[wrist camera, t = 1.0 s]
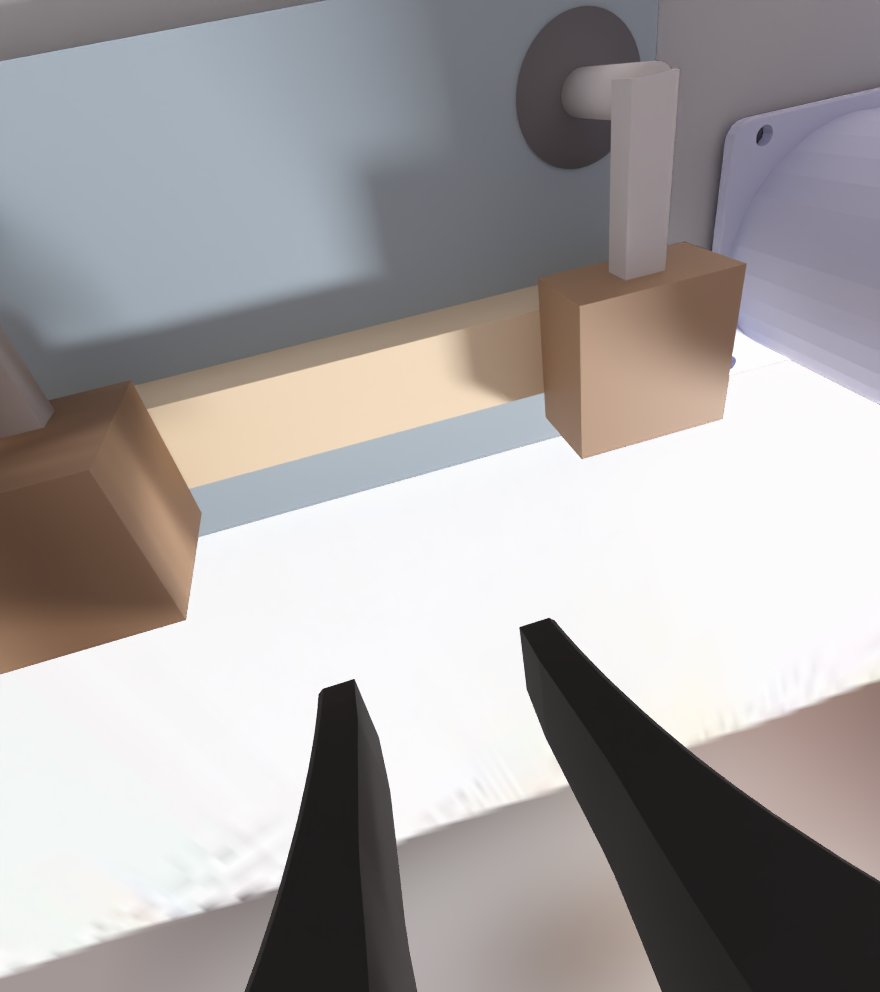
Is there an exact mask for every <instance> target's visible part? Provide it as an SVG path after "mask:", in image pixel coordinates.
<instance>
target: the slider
mask: <svg viewBox="0 0 880 992" xmlns="http://www.w3.org/2000/svg"><path fill="white" fill-rule="evenodd" d="M201 515H202V513H201V511H200V509H199V507H198V505H197V503H196V501H195V499H194V497H193V496H192V494H191V492H190V490H189V488H188V486H187V484H186V482H185V480H184V479H183V477H182V475H181V473H180V471H179V469H178V467H177V465H176V464H175V462H174V460H173V458H172V456H171V454H170V452H169V450H168V448H167V447H166V445H165V443H164V441H163V439H162V437H161V435H160V433H159V431H158V430H157V428H156V426H155V424H154V422H153V420H152V418H151V416H150V415H149V413H148V411H147V409H146V407H145V405H144V403H143V401H142V399H141V398H140V396H139V394H138V392H137V390H136V388H135V386H134V384H133V382H132V381H131V380H128V381H124V382H120V383H116V384H112V385H108V386H104V387H100V388H96V389H92V390H88V391H84V392H80V393H76V394H72V395H68V396H64V397H60V398H56V399H52V400H48V399H47V398H46V396H45V394H44V393H43V391H42V390H41V388H40V387H39V385H38V384H37V382H36V380H35V379H34V377H33V376H32V374H31V373H30V371H29V369H28V368H27V366H26V365H25V363H24V362H23V360H22V359H21V357H20V355H19V354H18V352H17V351H16V349H15V348H14V346H13V345H12V343H11V341H10V340H9V338H8V337H7V335H6V334H5V332H4V330H3V329H2V327H1V326H0V674H3V673H7V672H10V671H13V670H17V669H20V668H24V667H27V666H30V665H34V664H37V663H41V662H44V661H47V660H51V659H54V658H58V657H61V656H64V655H68V654H71V653H75V652H78V651H81V650H85V649H88V648H92V647H95V646H99V645H102V644H105V643H109V642H112V641H116V640H119V639H122V638H126V637H129V636H133V635H136V634H139V633H143V632H146V631H150V630H153V629H156V628H160V627H163V626H167V625H170V624H173V623H177V622H180V621H184V620H186V615H187V609H188V602H189V595H190V588H191V582H192V575H193V568H194V562H195V555H196V548H197V542H198V535H199V528H200V521H201Z"/></svg>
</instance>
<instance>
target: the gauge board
mask: <svg viewBox="0 0 880 992" xmlns="http://www.w3.org/2000/svg"><path fill="white" fill-rule="evenodd" d="M658 10H659V0H324V1H318V2H313V3H308V4H302V5H297V6H292V7H286V8H281V9H276V10H271V11H265V12H260V13H255V14H249V15H244V16H239V17H233V18H228V19H223V20H217V21H212V22H207V23H201V24H196V25H191V26H185V27H180V28H175V29H169V30H164V31H159V32H153V33H148V34H143V35H137V36H132V37H127V38H121V39H116V40H111V41H105V42H100V43H95V44H89V45H84V46H79V47H74V48H68V49H63V50H58V51H52V52H47V53H42V54H36V55H31V56H26V57H20V58H15V59H10V60H4V61H0V326H1V327H2V329H3V330H4V332H5V334H6V335H7V337H8V338H9V340H10V341H11V343H12V345H13V346H14V348H15V349H16V351H17V352H18V354H19V355H20V357H21V359H22V360H23V362H24V363H25V365H26V366H27V368H28V369H29V371H30V373H31V374H32V376H33V377H34V379H35V380H36V382H37V384H38V385H39V387H40V388H41V390H42V391H43V393H44V394H45V396H46V398H47V399H48V400H52V399H56V398H60V397H64V396H68V395H72V394H76V393H80V392H84V391H88V390H92V389H96V388H100V387H104V386H108V385H112V384H116V383H120V382H124V381H128V380H131V381H132V382H133V384H134V386H135V388H136V390H137V392H138V394H139V396H140V398H141V399H142V401H143V403H144V405H145V407H146V409H147V411H148V413H149V415H150V416H151V418H152V420H153V422H154V424H155V426H156V428H157V430H158V431H159V433H160V435H161V437H162V439H163V441H164V443H165V445H166V447H167V448H168V450H169V452H170V454H171V456H172V458H173V460H174V462H175V464H176V465H177V467H178V469H179V471H180V473H181V475H182V477H183V479H184V480H185V482H186V484H187V486H188V488H189V490H190V492H191V494H192V496H193V497H194V499H195V501H196V503H197V505H198V507H199V509H200V511H201V513H202V515H201V521H200V528H199V535H198V537H200V536H204V535H208V534H211V533H215V532H218V531H222V530H226V529H229V528H233V527H236V526H240V525H243V524H247V523H251V522H254V521H258V520H261V519H265V518H268V517H272V516H276V515H279V514H283V513H286V512H290V511H293V510H297V509H301V508H304V507H308V506H311V505H315V504H319V503H322V502H326V501H329V500H333V499H336V498H340V497H344V496H347V495H351V494H354V493H358V492H361V491H365V490H369V489H372V488H376V487H379V486H383V485H386V484H390V483H394V482H397V481H401V480H404V479H408V478H412V477H415V476H419V475H422V474H426V473H429V472H433V471H437V470H440V469H444V468H447V467H451V466H454V465H458V464H462V463H465V462H469V461H472V460H476V459H479V458H483V457H487V456H490V455H494V454H497V453H501V452H505V451H508V450H512V449H515V448H519V447H522V446H526V445H530V444H533V443H537V442H540V441H544V440H547V439H551V438H555V437H558V436H562V437H563V438H564V439H565V440H566V441H567V443H568V444H569V445H570V446H571V447H572V448H573V449H574V451H575V452H576V453H577V454H578V455H579V456H580V457H581V459H584V458H587V457H591V456H594V455H598V454H601V453H605V452H608V451H612V450H615V449H619V448H622V447H626V446H629V445H633V444H636V443H640V442H643V441H647V440H650V439H654V438H657V437H661V436H664V435H668V434H671V433H675V432H678V431H682V430H685V429H689V428H692V427H696V426H699V425H703V424H706V423H710V422H713V421H717V420H720V419H723V413H724V407H725V400H726V394H727V387H728V381H729V374H730V368H731V362H732V355H733V349H734V342H735V336H736V329H737V323H738V317H739V310H740V304H741V297H742V291H743V285H744V278H745V272H746V265H747V264H746V263H744V262H741V261H738V260H735V259H732V258H729V257H726V256H724V255H721V254H718V253H715V252H712V251H709V250H706V249H704V248H701V247H698V246H695V245H692V244H689V243H686V242H681V243H677V244H673V245H669V246H667V240H668V226H669V212H670V199H671V185H672V172H673V158H674V144H675V131H676V117H677V104H678V90H679V77H680V68H679V69H672V68H671V67H670V66H669V65H668V64H667V63H666V62H663V61H658V60H657V61H656V48H657V29H658Z"/></svg>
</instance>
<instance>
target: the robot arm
mask: <svg viewBox="0 0 880 992" xmlns="http://www.w3.org/2000/svg"><path fill="white" fill-rule="evenodd" d="M761 127H763V136H762V139H761V140H760V141H759V142H758V143H756V136H757V133H758V131H759V130H760V129H761ZM712 252H715V253H718V254H721V255H724V256H726V257H729V258H732V259H735V260H738V261H741V262H744V263H746V264H747V265H746V272H745V278H744V285H743V291H742V297H741V304H740V310H739V317H738V323H737V329H736V336H735V342H734V349H733V355H732V362H731V368H730V374H729V375H731V374H734V373H738V372H742V371H745V370H749V369H752V368H756V367H760V366H763V365H767V364H770V363H774V362H778V361H781V360H785V359H790V360H792V361H794V362H796V363H798V364H800V365H802V366H804V367H806V368H808V369H810V370H812V371H814V372H816V373H818V374H820V375H822V376H824V377H825V378H827V379H829V380H831V381H833V382H835V383H837V384H839V385H841V386H843V387H845V388H847V389H849V390H851V391H853V392H855V393H857V394H859V395H861V396H863V397H865V398H867V399H869V400H871V401H873V402H875V403H877V404H879V405H880V87H878V88H874V89H869V90H865V91H860V92H856V93H852V94H847V95H843V96H838V97H834V98H829V99H825V100H821V101H816V102H812V103H807V104H803V105H799V106H794V107H790V108H785V109H781V110H777V111H772V112H768V113H763V114H759V115H755V116H750V117H746V118H742V119H740V120H738V121H736V122H735V123H734V124H733V125H732V126H731V128H730V130H729V131H728V133H727V136H726V140H725V145H724V153H723V162H722V170H721V179H720V187H719V196H718V204H717V212H716V221H715V229H714V238H713V246H712ZM520 636H521V644H522V653H523V661H524V669H525V678H526V686H527V691H528V693H529V696H530V699H531V701H532V704H533V707H534V709H535V712H536V714H537V717H538V719H539V722H540V724H541V727H542V730H543V732H544V735H545V737H546V739H547V741H548V743H549V745H550V747H551V749H552V751H553V753H554V755H555V757H556V759H557V761H558V763H559V765H560V767H561V769H562V771H563V773H564V775H565V777H566V779H567V781H568V783H569V785H570V787H571V789H572V791H573V793H574V795H575V797H576V799H577V800H578V802H579V804H580V806H581V808H582V810H583V812H584V814H585V816H586V818H587V820H588V822H589V824H590V826H591V828H592V830H593V832H594V834H595V836H596V838H597V840H598V842H599V844H600V845H601V847H602V849H603V852H604V854H605V856H606V858H607V860H608V862H609V864H610V867H611V869H612V871H613V873H614V875H615V878H616V880H617V882H618V885H619V887H620V890H621V892H622V895H623V897H624V899H625V902H626V904H627V907H628V909H629V912H630V914H631V916H632V919H633V921H634V924H635V926H636V929H637V931H638V933H639V936H640V938H641V941H642V943H643V946H644V948H645V951H646V953H647V955H648V958H649V961H650V963H651V966H652V968H653V971H654V973H655V975H656V978H657V981H658V983H659V986H660V988H661V990H662V992H880V881H878V880H877V879H875V878H874V877H872V876H870V875H869V874H867V873H865V872H864V871H862V870H860V869H859V868H857V867H855V866H853V865H852V864H851V863H849V862H847V861H846V860H844V859H842V858H841V857H839V856H838V855H836V854H834V853H833V852H831V851H830V850H829V849H827V848H825V847H823V846H822V845H821V844H819V843H818V842H816V841H815V840H813V839H811V838H810V837H809V836H807V835H806V834H804V833H802V832H801V831H800V830H798V829H796V828H795V827H793V826H792V825H790V824H789V823H787V822H786V821H784V820H783V819H781V818H780V817H778V816H777V815H775V814H773V813H772V812H771V811H769V810H768V809H767V808H765V807H764V806H762V805H761V804H760V803H758V802H757V801H755V800H754V799H753V798H751V797H750V796H748V795H747V794H746V793H744V792H743V791H741V790H740V789H739V788H737V787H735V786H734V785H733V784H732V783H731V782H729V781H728V780H726V779H725V778H724V777H723V776H721V775H720V774H719V773H717V772H716V771H715V770H713V769H712V768H711V767H709V766H708V765H707V764H706V763H704V762H703V761H702V760H700V759H699V758H698V757H696V756H695V755H694V754H693V753H692V752H690V751H689V750H688V749H687V748H686V747H684V746H683V745H682V744H681V743H679V742H678V741H677V740H676V739H675V738H674V737H672V736H671V735H670V734H669V733H668V732H666V731H665V730H664V729H663V728H662V727H661V726H659V725H658V724H657V723H656V722H655V721H654V720H653V719H651V718H650V717H649V716H648V715H647V714H646V713H645V712H643V711H642V710H641V709H640V708H639V707H638V706H637V705H636V704H635V703H634V702H633V701H632V700H631V699H629V698H628V697H627V696H626V695H625V694H624V693H623V692H622V691H621V690H620V689H619V688H618V687H617V686H616V685H614V684H613V683H612V682H611V681H610V680H609V679H608V678H607V677H606V676H605V675H604V674H603V673H602V672H601V671H600V670H599V669H598V668H597V667H596V666H595V665H594V664H593V663H592V662H591V661H590V660H589V659H588V657H587V656H586V655H585V654H584V653H583V652H582V651H581V650H580V649H579V648H578V647H577V646H576V645H575V644H574V642H573V641H572V640H571V639H570V638H569V637H568V636H567V635H566V633H565V632H564V631H563V630H562V629H561V628H560V627H559V625H558V624H557V623H556V622H555V620H552V619H550V618H547V619H544V620H541V621H538V622H535V623H531V624H528V625H525V626H522V627H520ZM245 992H417V988H416V983H415V978H414V973H413V968H412V963H411V957H410V952H409V946H408V939H407V933H406V926H405V919H404V910H403V900H402V891H401V883H400V874H399V865H398V856H397V847H396V838H395V829H394V820H393V812H392V803H391V795H390V788H389V783H388V779H387V774H386V769H385V764H384V760H383V755H382V750H381V746H380V741H379V737H378V734H377V732H376V730H375V727H374V725H373V723H372V720H371V718H370V715H369V713H368V711H367V708H366V706H365V703H364V701H363V699H362V696H361V694H360V691H359V689H358V687H357V684H356V682H355V679H353V680H350V681H347V682H343V683H340V684H337V685H334V686H331V687H327V688H324V689H322V691H321V692H320V693H319V697H318V709H317V718H316V726H315V733H314V740H313V746H312V752H311V758H310V763H309V769H308V774H307V778H306V783H305V788H304V792H303V797H302V802H301V806H300V811H299V815H298V820H297V824H296V828H295V832H294V835H293V839H292V843H291V847H290V850H289V854H288V858H287V862H286V866H285V869H284V873H283V877H282V880H281V884H280V887H279V890H278V894H277V897H276V901H275V904H274V907H273V910H272V913H271V917H270V920H269V923H268V926H267V929H266V932H265V935H264V938H263V941H262V944H261V947H260V950H259V953H258V956H257V959H256V962H255V964H254V967H253V970H252V973H251V975H250V978H249V981H248V984H247V987H246V989H245Z"/></svg>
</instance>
